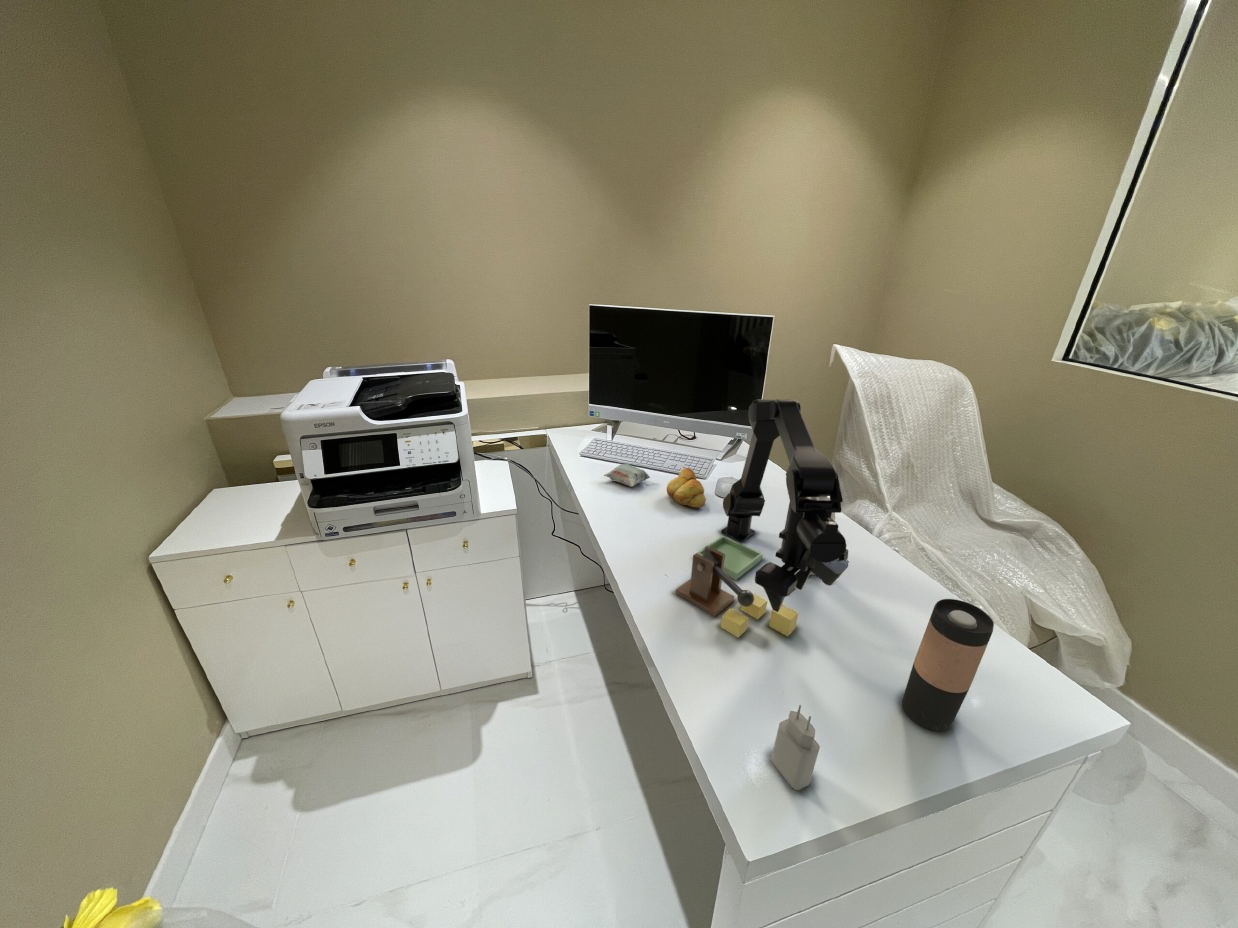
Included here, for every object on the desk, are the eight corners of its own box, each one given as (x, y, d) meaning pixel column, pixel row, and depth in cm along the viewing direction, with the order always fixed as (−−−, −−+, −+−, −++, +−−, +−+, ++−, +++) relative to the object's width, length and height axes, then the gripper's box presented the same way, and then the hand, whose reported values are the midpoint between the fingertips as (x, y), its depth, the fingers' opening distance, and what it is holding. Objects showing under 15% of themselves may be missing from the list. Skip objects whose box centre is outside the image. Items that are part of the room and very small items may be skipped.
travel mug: (890, 693, 84) (922, 598, 76) (933, 691, 85) (969, 596, 77) (918, 734, 78) (957, 635, 69) (965, 731, 78) (1009, 632, 70)
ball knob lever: (752, 604, 100) (760, 595, 98) (743, 612, 97) (751, 603, 95) (705, 558, 105) (711, 549, 103) (695, 564, 103) (702, 555, 101)
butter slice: (776, 618, 101) (779, 602, 99) (794, 628, 98) (798, 612, 96) (768, 626, 99) (771, 610, 97) (787, 636, 96) (791, 620, 94)
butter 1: (729, 619, 100) (730, 607, 99) (746, 629, 98) (748, 617, 96) (720, 627, 98) (722, 615, 97) (738, 637, 96) (740, 625, 94)
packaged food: (632, 492, 149) (633, 477, 147) (603, 480, 156) (603, 466, 154) (650, 483, 155) (651, 469, 153) (621, 472, 162) (621, 458, 160)
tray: (722, 541, 126) (723, 535, 125) (761, 560, 119) (762, 553, 118) (696, 559, 119) (696, 552, 118) (736, 580, 112) (737, 573, 111)
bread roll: (712, 508, 142) (715, 482, 138) (682, 514, 138) (685, 488, 135) (688, 488, 152) (690, 464, 149) (660, 494, 149) (662, 469, 145)
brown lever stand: (733, 600, 105) (740, 558, 101) (714, 616, 101) (720, 572, 96) (695, 579, 112) (699, 538, 107) (675, 593, 107) (679, 551, 103)
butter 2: (748, 603, 105) (750, 591, 104) (765, 612, 102) (767, 600, 101) (740, 609, 103) (742, 598, 102) (757, 619, 100) (759, 607, 99)
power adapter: (785, 749, 75) (799, 691, 70) (812, 782, 70) (829, 722, 65) (769, 757, 73) (782, 699, 68) (795, 791, 69) (811, 731, 64)
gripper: (823, 570, 78) (805, 647, 84) (867, 527, 90) (849, 596, 97) (759, 541, 85) (747, 614, 91) (808, 505, 97) (795, 571, 104)
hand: (787, 599), depth 96 cm, fingers open, 9 cm apart
